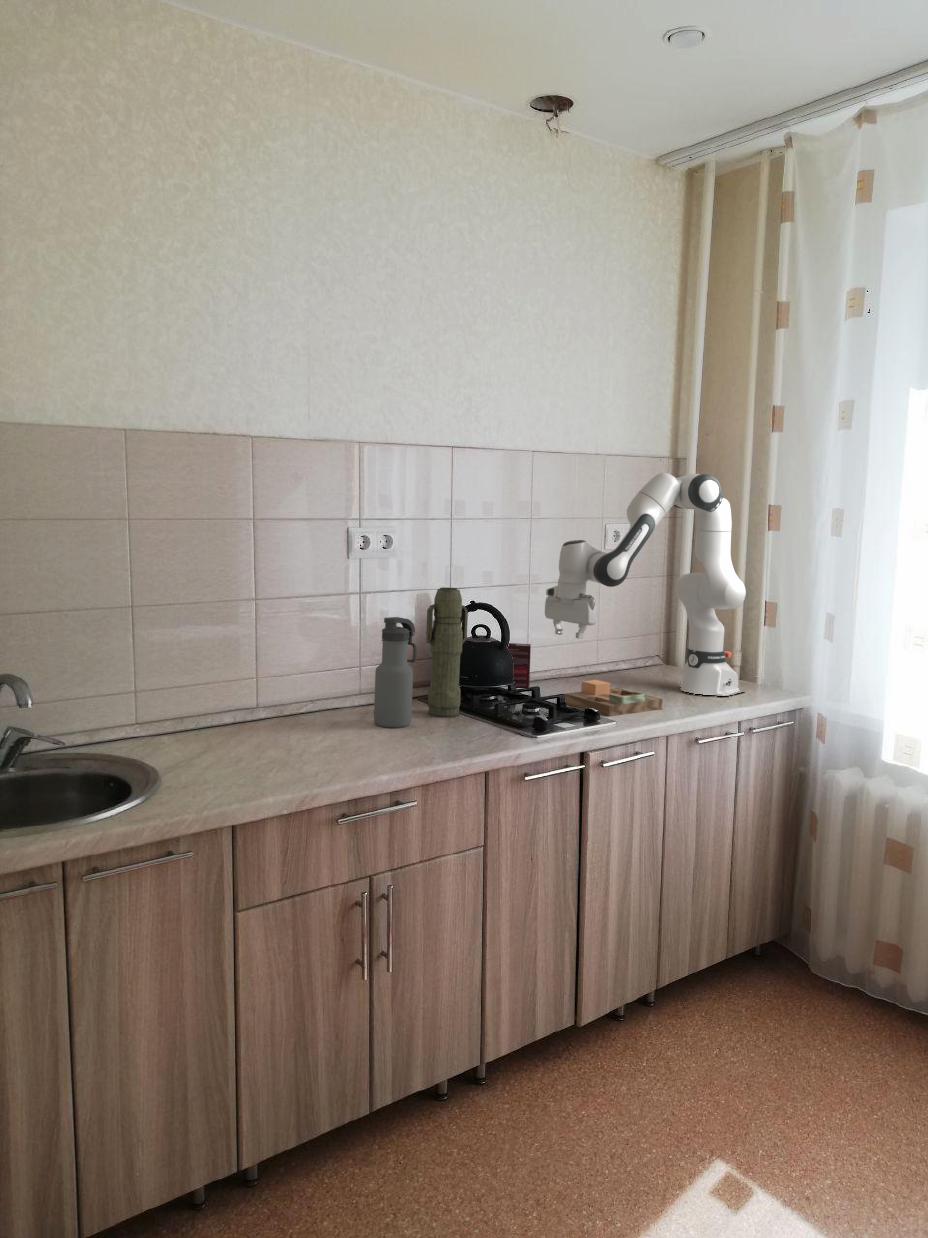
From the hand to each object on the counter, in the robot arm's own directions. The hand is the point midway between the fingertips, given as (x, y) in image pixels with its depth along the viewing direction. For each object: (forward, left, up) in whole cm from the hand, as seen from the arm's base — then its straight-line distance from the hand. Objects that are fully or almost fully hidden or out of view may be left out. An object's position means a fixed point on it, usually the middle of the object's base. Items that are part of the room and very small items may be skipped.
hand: (568, 636), depth 289 cm
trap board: (-1, +20, -18) cm, 27 cm away
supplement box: (+15, -7, -19) cm, 25 cm away
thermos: (+51, +6, -19) cm, 55 cm away
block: (0, +13, -15) cm, 20 cm away
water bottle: (+70, +10, -19) cm, 73 cm away
